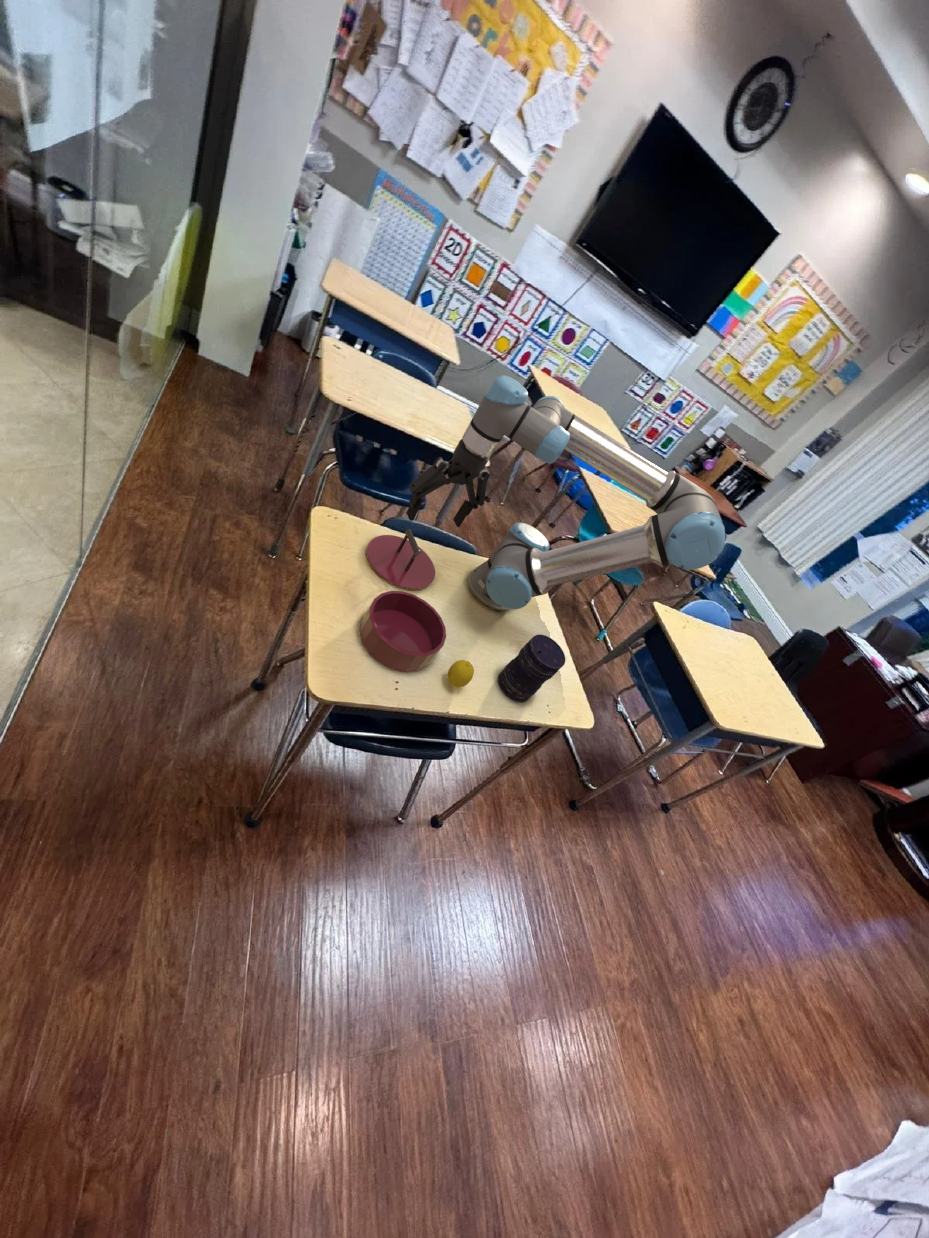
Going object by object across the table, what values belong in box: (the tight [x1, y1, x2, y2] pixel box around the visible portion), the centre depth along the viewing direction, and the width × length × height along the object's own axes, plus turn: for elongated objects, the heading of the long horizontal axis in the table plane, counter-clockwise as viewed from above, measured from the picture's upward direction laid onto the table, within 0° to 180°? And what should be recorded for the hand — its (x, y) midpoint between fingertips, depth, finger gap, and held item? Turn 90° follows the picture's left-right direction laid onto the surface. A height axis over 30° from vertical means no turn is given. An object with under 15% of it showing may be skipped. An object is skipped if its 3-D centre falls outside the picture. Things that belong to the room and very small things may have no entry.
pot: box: [359, 590, 447, 673], centre depth 118 cm, size 19×19×6 cm
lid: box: [366, 528, 436, 591], centre depth 135 cm, size 20×20×9 cm
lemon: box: [446, 659, 475, 688], centre depth 117 cm, size 6×6×8 cm
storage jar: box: [497, 634, 566, 703], centre depth 124 cm, size 10×10×15 cm
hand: (433, 520), depth 125 cm, fingers open, 13 cm apart
